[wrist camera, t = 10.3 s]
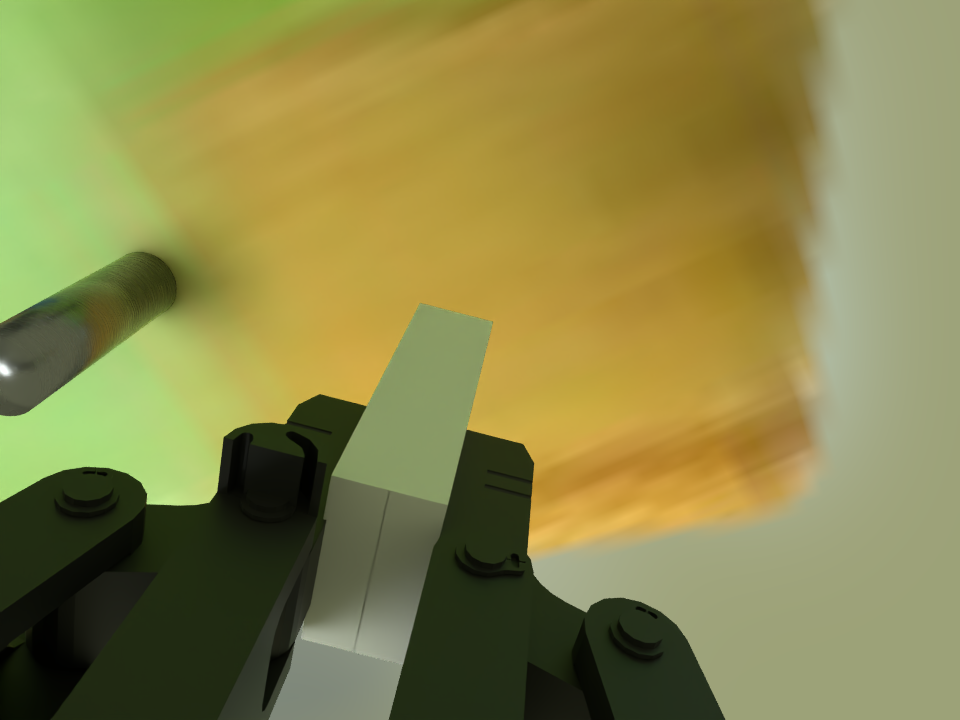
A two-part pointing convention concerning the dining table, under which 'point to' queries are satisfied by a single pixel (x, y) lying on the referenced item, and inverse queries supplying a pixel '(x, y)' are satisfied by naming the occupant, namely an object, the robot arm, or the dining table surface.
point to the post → (78, 328)
